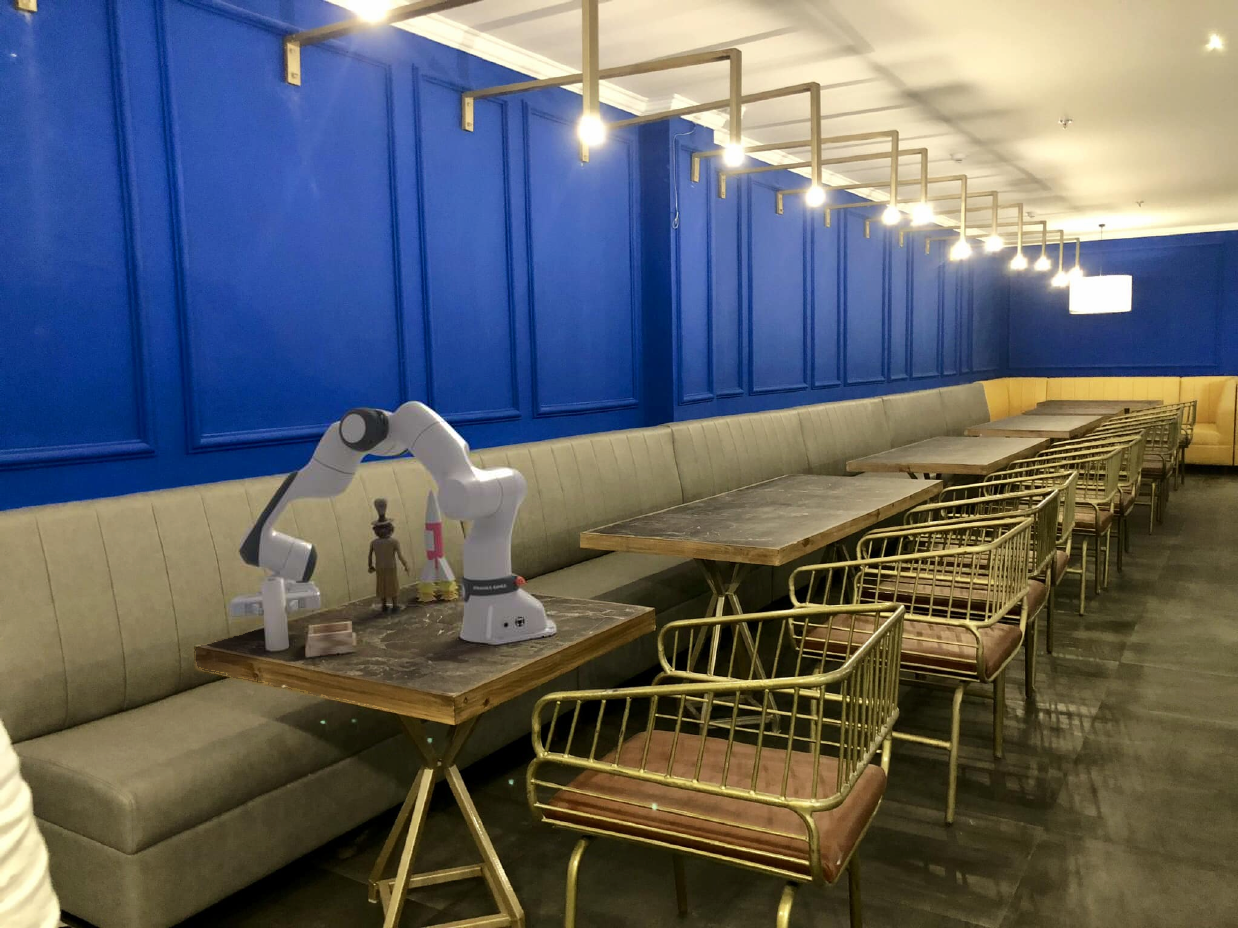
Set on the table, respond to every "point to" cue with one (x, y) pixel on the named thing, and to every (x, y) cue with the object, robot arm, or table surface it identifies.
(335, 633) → the holder
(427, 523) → the toy rocket
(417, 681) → the table surface
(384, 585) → the figurine
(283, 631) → the roll
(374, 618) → the table surface
